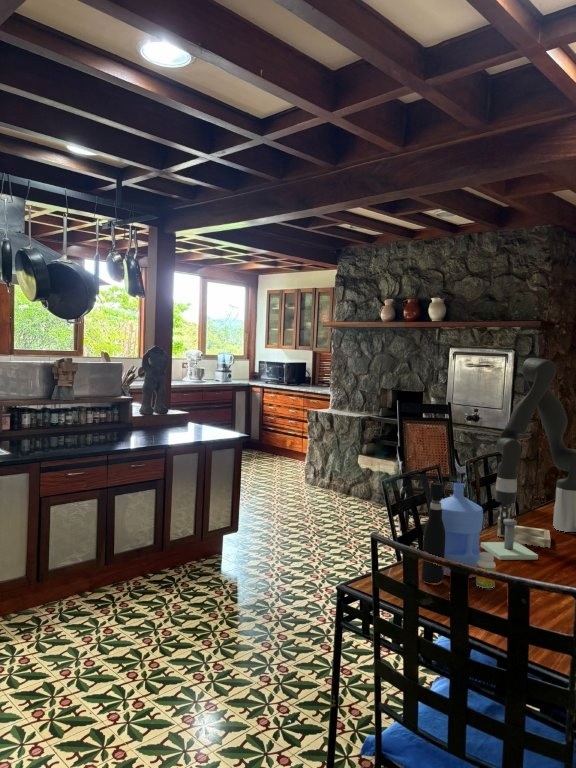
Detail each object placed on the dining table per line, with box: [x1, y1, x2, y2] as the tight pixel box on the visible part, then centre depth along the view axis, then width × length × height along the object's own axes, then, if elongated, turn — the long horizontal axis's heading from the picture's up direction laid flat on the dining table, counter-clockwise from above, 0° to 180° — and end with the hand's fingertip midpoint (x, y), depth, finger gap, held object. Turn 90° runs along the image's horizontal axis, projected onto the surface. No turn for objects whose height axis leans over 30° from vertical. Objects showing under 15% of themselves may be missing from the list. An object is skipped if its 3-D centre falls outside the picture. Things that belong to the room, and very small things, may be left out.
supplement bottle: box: [475, 551, 497, 589], centre depth 175 cm, size 5×5×10 cm
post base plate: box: [480, 518, 539, 561], centre depth 207 cm, size 14×14×12 cm
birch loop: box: [496, 516, 551, 549], centre depth 224 cm, size 18×14×7 cm
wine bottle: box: [420, 481, 445, 583], centre depth 177 cm, size 6×6×30 cm
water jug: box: [440, 482, 484, 579], centre depth 187 cm, size 16×16×28 cm
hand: (503, 533), depth 227 cm, fingers closed on birch loop, 3 cm apart
